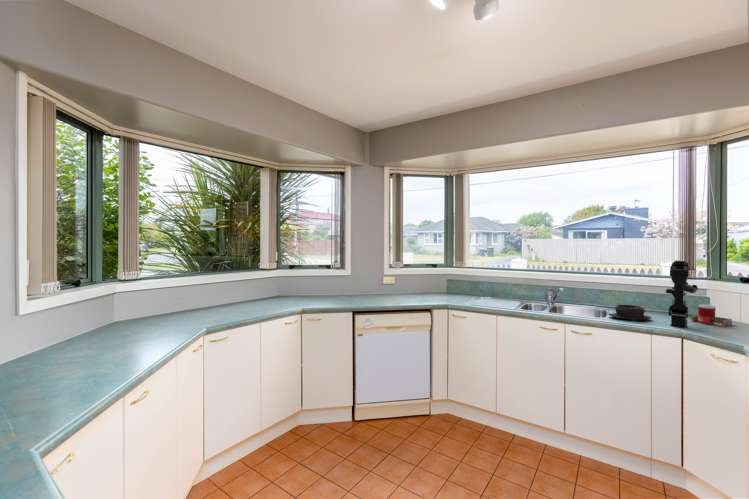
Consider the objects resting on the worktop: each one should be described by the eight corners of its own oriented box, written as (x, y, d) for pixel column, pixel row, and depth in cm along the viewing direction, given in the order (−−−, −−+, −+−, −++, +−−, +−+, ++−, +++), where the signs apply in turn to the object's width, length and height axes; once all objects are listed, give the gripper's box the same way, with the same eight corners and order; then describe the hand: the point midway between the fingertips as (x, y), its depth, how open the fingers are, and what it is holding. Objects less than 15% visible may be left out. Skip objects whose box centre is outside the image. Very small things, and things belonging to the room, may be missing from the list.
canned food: (713, 325, 218) (714, 308, 216) (696, 322, 224) (697, 306, 222) (715, 322, 222) (716, 305, 221) (699, 319, 229) (699, 303, 227)
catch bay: (723, 326, 214) (723, 321, 214) (691, 321, 228) (691, 316, 228) (731, 324, 219) (731, 319, 219) (700, 319, 233) (700, 314, 233)
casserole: (640, 316, 243) (640, 304, 243) (659, 322, 225) (659, 309, 225) (602, 315, 246) (602, 303, 246) (617, 321, 228) (617, 308, 228)
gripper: (686, 282, 213) (685, 307, 214) (703, 280, 220) (702, 305, 221) (665, 280, 224) (664, 304, 225) (682, 278, 231) (681, 301, 232)
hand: (678, 303), depth 225 cm, fingers closed
